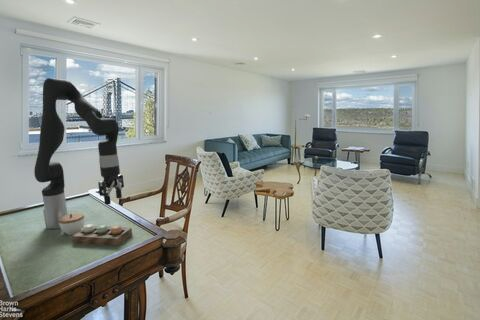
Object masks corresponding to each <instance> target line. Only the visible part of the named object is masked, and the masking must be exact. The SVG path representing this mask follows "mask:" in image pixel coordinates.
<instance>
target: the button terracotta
mask: <svg viewBox="0 0 480 320" xmlns="http://www.w3.org/2000/svg"><path fill="white" fill-rule="evenodd" d="M110 227H111V234H112V235H116V234H120V233H121V232H122V228H121V227H122V226H121V225H114V226H113V225H112V226H110Z"/></svg>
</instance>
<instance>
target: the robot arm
mask: <svg viewBox="0 0 480 320" xmlns="http://www.w3.org/2000/svg"><path fill="white" fill-rule="evenodd" d="M57 101H68V102H71V103H73V104H74V110H75V113H76V114H77V115H78V116H79V117H80V118H81V119H82V120H83V121H84V122H86V124H87V126H88V127H89V129H90V131H91V132H92V133H93V134H95V135H96V136H105V138H104V139H103V140H101V141H99V142H98V144H97V146H98V160H99V161H98V163H99V168H100V169H99V171H100V176H101V177H102V178H103V181H98V193H99V196H100V197H103V200H104V203H105V205H111V196H110V194H111V192H112V190H113V189H114V190H115V194H116V195H115V198H116V199H122V197H123V195H122V194H123V193H122V190H123V188H124V187H125V184H124V176H123V174H121V171H120V170H121V169H120V160H119V156H118V149H117V142H118V138H119V131H120V128H119V124H118V121H117V120H116V119H115V118H113V117H108V118H107V117H105V118H103V115H102V112H101V111H100V110H99V109H97V108H96V107H95V106H93V105H92V104H91V103H90V102H89V101H88V100H87V99H86V98H85V97H84V96H83V94H82V93H81V92H80V91H79V90H78V88H77V87H76V85H74V84H73V83H72V82H71V81H70V80H67V79H65V78H64V79H63V78H54V77H47V78H45V80H44V82H43V84H42V113H41V114H42V115H41V116H42V117H41V125H40V130H39V131H40V132H39V133H40V134H39V145H38V151H37V156H36V159H35V165H34V170H33V171H34V172H33V173H34V179H35V180H36V181H37V182H38V183H48V182H49V184H48V185H46V187H45V186H44V188H43V189H42V190H41V195H42V201H43V207H44V209H43V216H44V217H43V218H44V223H45V225H44V226H45V228H47V229H49V230H57V229H60V226H59V222H58V219H59V218H60V217H62V216H65V215H68V209H67V202H66V195H65V173H64V169H63V166H62V164H61V163H60V162H58V161H51V159H52V157H53V155H54V154H55V153H56V152H57V150H58V149H59V147H60V146H61V145H62V144H63V141H64V136H65V129H66V128H65V124H64V123H63V121H62V119H61V118H60V116H59V114H58V112H57V111H58V110H57Z"/></svg>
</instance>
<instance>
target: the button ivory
mask: <svg viewBox="0 0 480 320" xmlns="http://www.w3.org/2000/svg"><path fill="white" fill-rule="evenodd" d="M94 226H95V225H94V224H93V223H89V224H84V226H83V228H82V230H83V232H84V233H90V232H93V231H94Z"/></svg>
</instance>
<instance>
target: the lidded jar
mask: <svg viewBox="0 0 480 320" xmlns="http://www.w3.org/2000/svg"><path fill="white" fill-rule="evenodd" d="M67 214H68V213H67ZM58 222H59V226H60V228H59V229H60V230H61V232H63V233H64V234H66V235H67V236H68V235H71V236H73V235H75V234H76V233H78V232H80V231H82V230H83V226H85V214H84V213H82V212H74V213H73V212H72V213H69V214H68V215H65V216H62V217H60V218H59V219H58Z"/></svg>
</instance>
